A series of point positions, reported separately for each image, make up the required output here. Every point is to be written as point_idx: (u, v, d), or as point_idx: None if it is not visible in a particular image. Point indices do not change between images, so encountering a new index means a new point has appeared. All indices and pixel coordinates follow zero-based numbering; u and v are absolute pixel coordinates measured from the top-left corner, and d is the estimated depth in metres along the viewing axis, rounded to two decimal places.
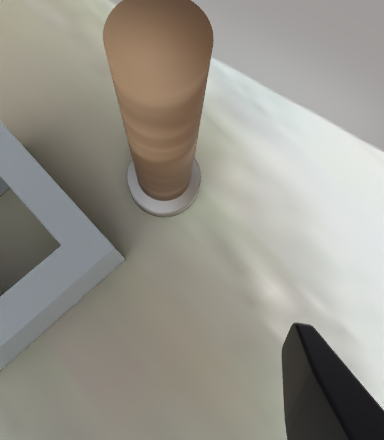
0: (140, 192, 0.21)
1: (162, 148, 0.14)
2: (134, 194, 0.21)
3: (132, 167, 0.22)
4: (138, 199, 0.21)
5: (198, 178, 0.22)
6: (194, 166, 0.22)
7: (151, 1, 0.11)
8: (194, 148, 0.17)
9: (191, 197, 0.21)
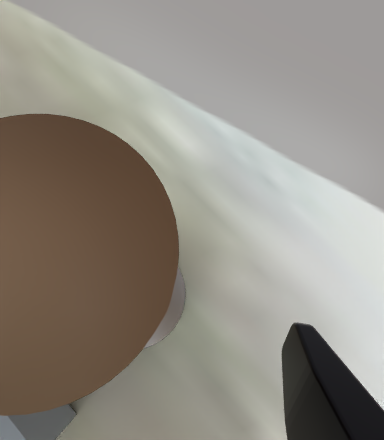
0: None
1: None
2: None
3: None
4: None
5: (182, 298, 0.15)
6: (177, 279, 0.15)
7: (17, 146, 0.04)
8: None
9: (172, 328, 0.15)
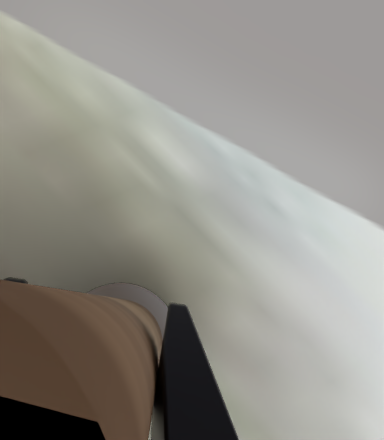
0: None
1: None
2: None
3: None
4: None
5: None
6: None
7: None
8: None
9: None
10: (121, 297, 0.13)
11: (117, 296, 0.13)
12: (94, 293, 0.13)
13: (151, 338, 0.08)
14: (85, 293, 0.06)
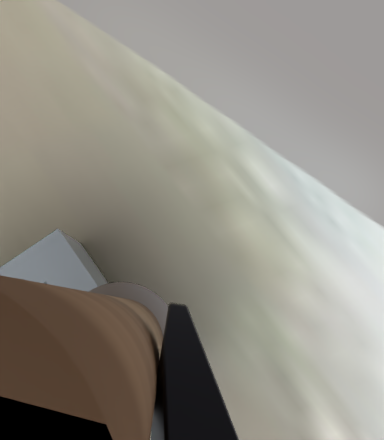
0: None
1: None
2: None
3: None
4: None
5: None
6: None
7: None
8: None
9: None
10: (122, 296, 0.13)
11: (118, 295, 0.13)
12: (95, 292, 0.13)
13: (152, 337, 0.08)
14: None
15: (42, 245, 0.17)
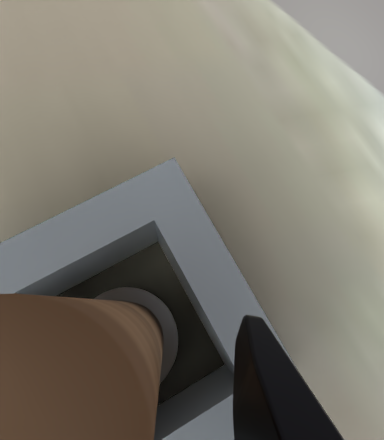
0: None
1: None
2: None
3: None
4: None
5: (175, 345, 0.15)
6: (169, 325, 0.15)
7: None
8: None
9: (164, 376, 0.15)
10: (127, 299, 0.15)
11: (124, 299, 0.15)
12: (104, 296, 0.15)
13: (156, 335, 0.10)
14: (106, 300, 0.08)
15: (154, 175, 0.13)
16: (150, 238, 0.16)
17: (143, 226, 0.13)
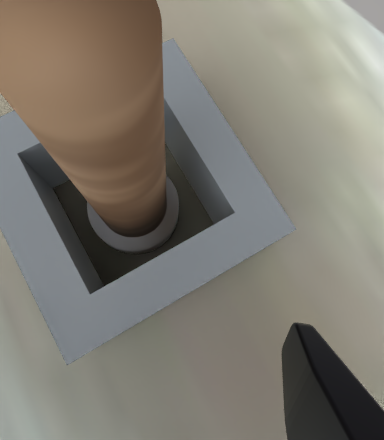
0: (103, 227, 0.17)
1: (108, 190, 0.10)
2: (95, 229, 0.17)
3: None
4: (101, 236, 0.17)
5: (176, 207, 0.17)
6: (171, 192, 0.18)
7: None
8: (161, 181, 0.12)
9: (167, 232, 0.17)
10: None
11: None
12: None
13: None
14: None
15: None
16: None
17: None
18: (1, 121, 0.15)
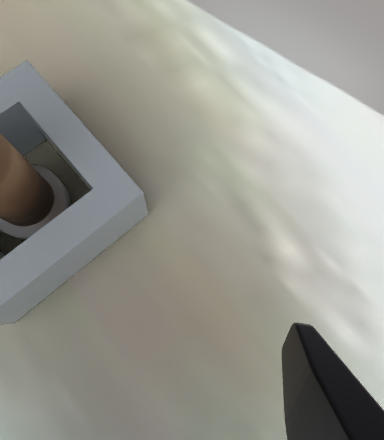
0: (3, 222, 0.21)
1: None
2: None
3: None
4: (2, 229, 0.21)
5: (62, 195, 0.21)
6: (56, 184, 0.21)
7: None
8: (15, 172, 0.16)
9: None
10: None
11: None
12: None
13: (8, 142, 0.16)
14: None
15: (14, 74, 0.20)
16: (33, 130, 0.22)
17: (12, 107, 0.19)
18: None
